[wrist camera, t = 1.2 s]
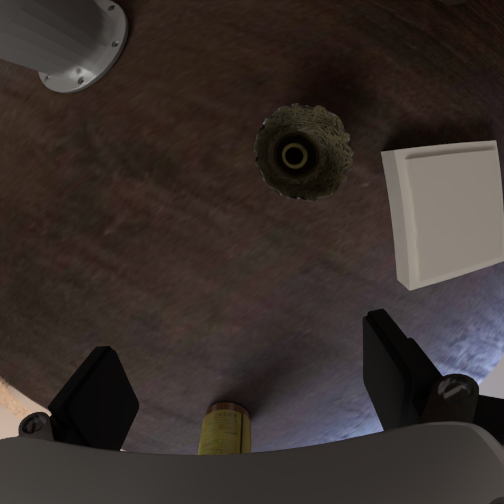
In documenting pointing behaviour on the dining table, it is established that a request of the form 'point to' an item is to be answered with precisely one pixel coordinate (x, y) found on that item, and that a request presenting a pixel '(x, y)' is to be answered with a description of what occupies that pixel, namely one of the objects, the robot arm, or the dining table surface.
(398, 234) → the pedestal
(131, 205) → the dining table surface
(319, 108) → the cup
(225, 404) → the sauce bottle
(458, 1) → the beer bottle
